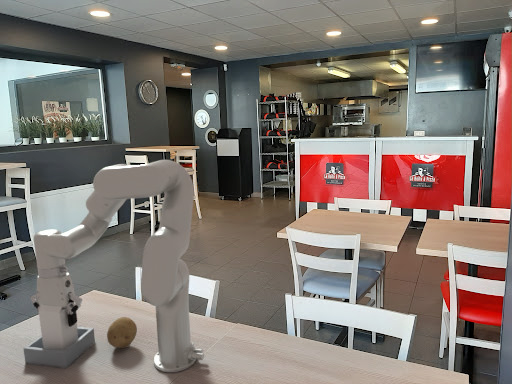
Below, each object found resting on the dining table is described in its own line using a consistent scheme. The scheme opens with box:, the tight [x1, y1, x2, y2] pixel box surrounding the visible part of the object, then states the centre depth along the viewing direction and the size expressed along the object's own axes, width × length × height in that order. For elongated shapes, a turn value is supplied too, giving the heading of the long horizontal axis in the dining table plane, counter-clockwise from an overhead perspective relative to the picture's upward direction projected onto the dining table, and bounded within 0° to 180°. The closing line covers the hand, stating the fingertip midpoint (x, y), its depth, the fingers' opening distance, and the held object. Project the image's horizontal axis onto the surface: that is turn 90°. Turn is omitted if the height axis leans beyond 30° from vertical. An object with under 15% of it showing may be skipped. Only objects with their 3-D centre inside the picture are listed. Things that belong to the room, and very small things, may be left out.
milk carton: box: [38, 302, 78, 351], centre depth 122 cm, size 7×7×19 cm
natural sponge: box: [106, 316, 138, 349], centre depth 125 cm, size 9×9×10 cm
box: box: [23, 326, 96, 369], centre depth 124 cm, size 14×14×5 cm
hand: (59, 323), depth 122 cm, fingers open, 9 cm apart
